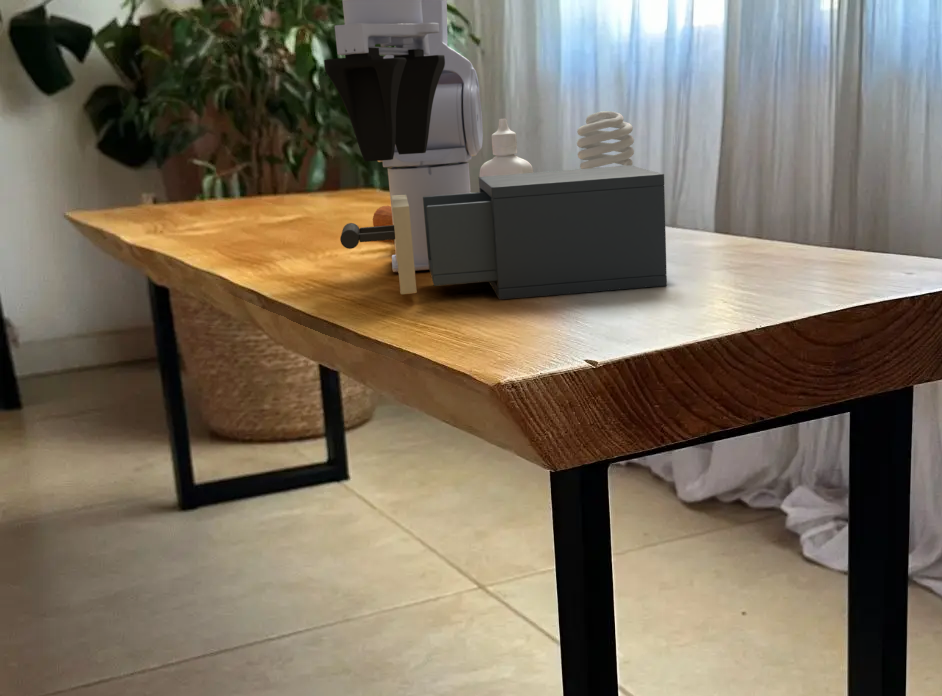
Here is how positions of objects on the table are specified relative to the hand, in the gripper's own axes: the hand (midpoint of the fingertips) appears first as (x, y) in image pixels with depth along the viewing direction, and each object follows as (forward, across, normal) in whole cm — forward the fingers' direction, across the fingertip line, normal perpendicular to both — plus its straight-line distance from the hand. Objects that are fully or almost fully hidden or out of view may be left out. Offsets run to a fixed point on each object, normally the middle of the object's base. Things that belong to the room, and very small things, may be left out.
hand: (396, 157), depth 93 cm
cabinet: (+10, +4, -12) cm, 17 cm away
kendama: (+11, +33, +11) cm, 37 cm away
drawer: (+9, +1, -3) cm, 10 cm away
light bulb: (+11, +34, -10) cm, 37 cm away
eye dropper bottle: (+11, +30, 0) cm, 32 cm away
